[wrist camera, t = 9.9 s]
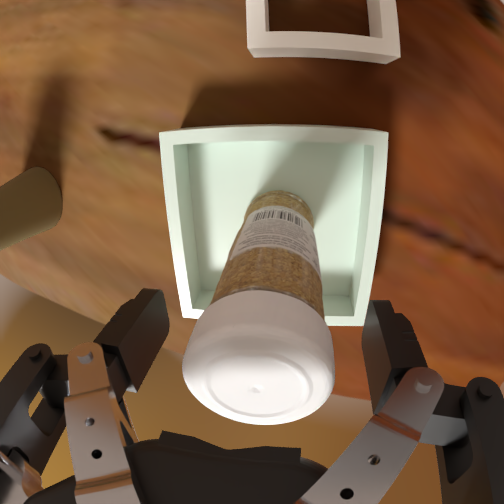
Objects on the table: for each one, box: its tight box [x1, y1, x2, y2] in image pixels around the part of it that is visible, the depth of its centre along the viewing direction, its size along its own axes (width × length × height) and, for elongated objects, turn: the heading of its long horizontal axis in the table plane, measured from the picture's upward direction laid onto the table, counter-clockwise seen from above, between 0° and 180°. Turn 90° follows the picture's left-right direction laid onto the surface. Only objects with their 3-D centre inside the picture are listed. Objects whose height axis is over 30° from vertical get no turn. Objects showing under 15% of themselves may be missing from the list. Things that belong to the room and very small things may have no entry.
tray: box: [159, 124, 388, 326], centre depth 20 cm, size 13×13×4 cm
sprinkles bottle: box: [182, 190, 335, 425], centre depth 14 cm, size 5×5×14 cm
